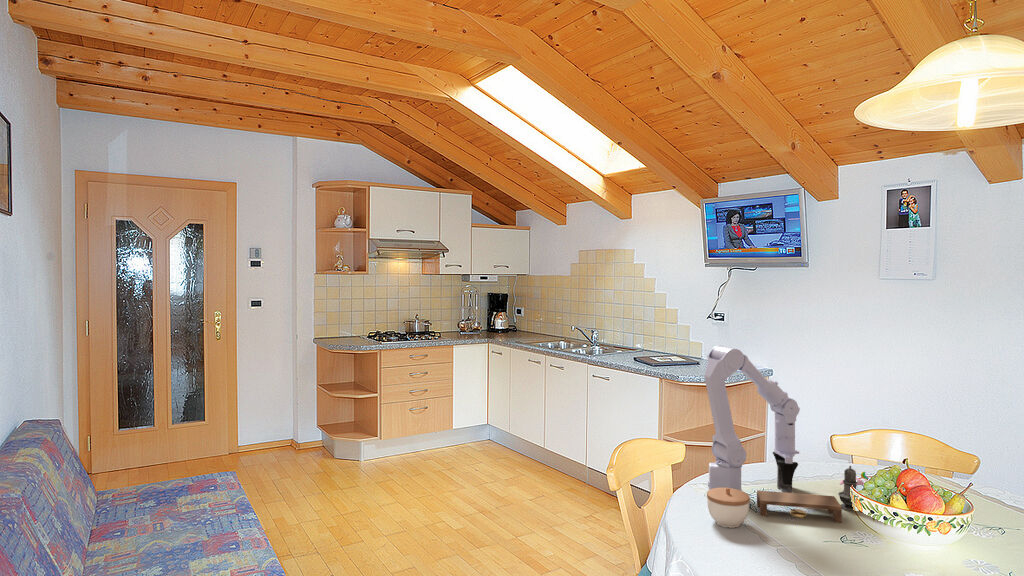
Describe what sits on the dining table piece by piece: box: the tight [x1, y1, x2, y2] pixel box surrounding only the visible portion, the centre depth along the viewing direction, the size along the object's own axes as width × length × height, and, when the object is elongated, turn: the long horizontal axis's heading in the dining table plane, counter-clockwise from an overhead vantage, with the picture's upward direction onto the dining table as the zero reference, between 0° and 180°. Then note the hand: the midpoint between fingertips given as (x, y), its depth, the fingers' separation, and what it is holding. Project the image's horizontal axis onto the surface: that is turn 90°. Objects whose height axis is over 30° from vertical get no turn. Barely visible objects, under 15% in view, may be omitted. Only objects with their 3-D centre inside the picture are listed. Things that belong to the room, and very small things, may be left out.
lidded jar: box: [706, 488, 751, 529], centre depth 164 cm, size 11×11×9 cm
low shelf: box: [756, 489, 843, 524], centre depth 170 cm, size 20×8×4 cm, turn 75°
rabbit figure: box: [839, 471, 869, 486], centre depth 187 cm, size 6×6×15 cm
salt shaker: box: [837, 465, 857, 512], centre depth 173 cm, size 6×6×12 cm
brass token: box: [790, 508, 807, 519], centre depth 169 cm, size 4×4×1 cm
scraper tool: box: [776, 464, 794, 493], centre depth 183 cm, size 5×15×7 cm, turn 165°
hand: (784, 479), depth 189 cm, fingers open, 7 cm apart
